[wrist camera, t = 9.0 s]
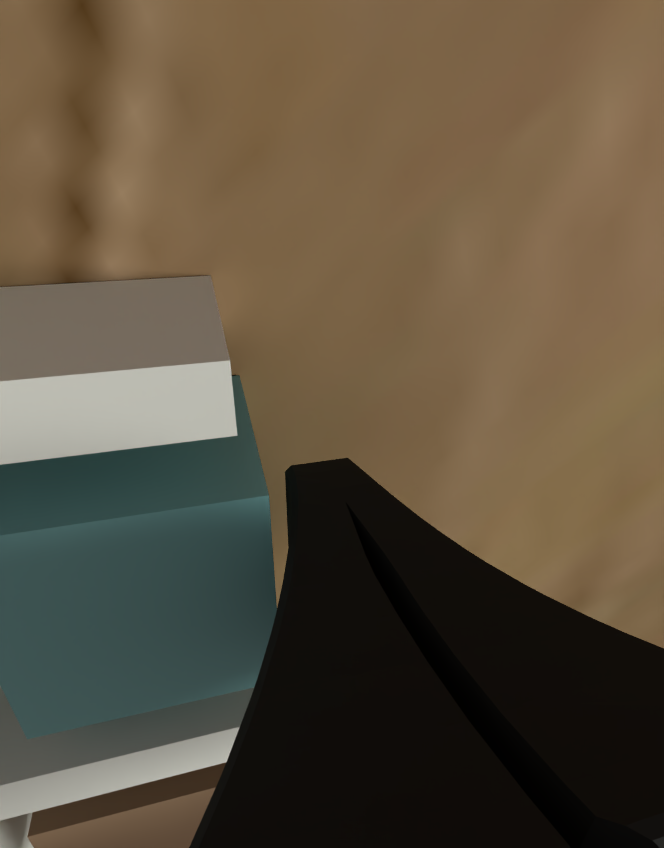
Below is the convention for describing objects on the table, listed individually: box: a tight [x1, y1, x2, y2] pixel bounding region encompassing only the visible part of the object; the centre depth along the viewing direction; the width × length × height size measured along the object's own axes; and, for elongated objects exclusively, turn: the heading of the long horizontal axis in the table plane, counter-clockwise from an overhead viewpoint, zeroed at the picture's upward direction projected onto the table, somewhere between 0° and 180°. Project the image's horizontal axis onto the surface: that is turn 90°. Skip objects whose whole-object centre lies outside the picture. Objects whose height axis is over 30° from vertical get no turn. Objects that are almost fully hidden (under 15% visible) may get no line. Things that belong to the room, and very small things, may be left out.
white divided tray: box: [0, 276, 254, 848], centre depth 10 cm, size 15×8×4 cm, turn 179°
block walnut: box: [27, 762, 226, 848], centre depth 13 cm, size 4×4×4 cm
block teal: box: [0, 375, 277, 739], centre depth 9 cm, size 4×4×4 cm
